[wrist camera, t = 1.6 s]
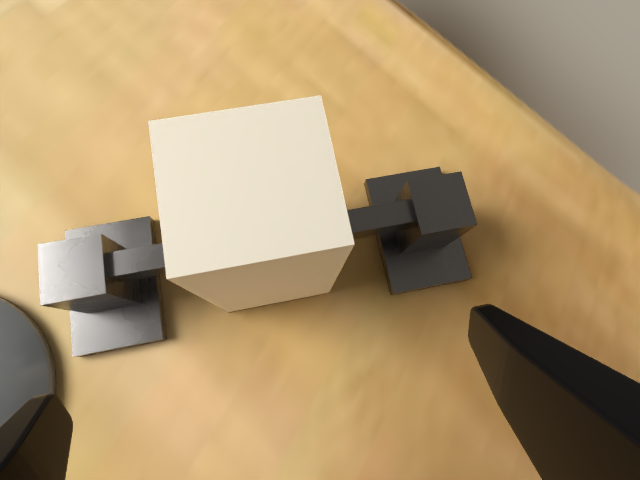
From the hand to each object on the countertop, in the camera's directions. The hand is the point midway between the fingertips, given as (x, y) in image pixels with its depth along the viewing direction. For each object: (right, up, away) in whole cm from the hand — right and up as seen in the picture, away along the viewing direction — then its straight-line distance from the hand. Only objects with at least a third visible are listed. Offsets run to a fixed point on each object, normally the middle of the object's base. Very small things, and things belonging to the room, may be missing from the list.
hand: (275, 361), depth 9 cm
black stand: (-2, +2, +12) cm, 12 cm away
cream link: (-1, +2, +12) cm, 12 cm away
